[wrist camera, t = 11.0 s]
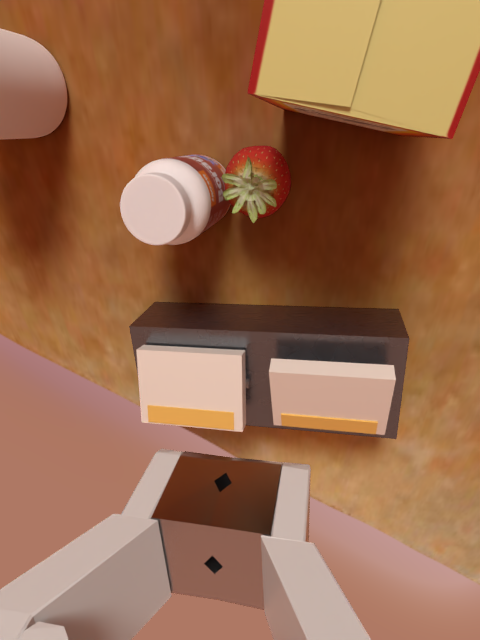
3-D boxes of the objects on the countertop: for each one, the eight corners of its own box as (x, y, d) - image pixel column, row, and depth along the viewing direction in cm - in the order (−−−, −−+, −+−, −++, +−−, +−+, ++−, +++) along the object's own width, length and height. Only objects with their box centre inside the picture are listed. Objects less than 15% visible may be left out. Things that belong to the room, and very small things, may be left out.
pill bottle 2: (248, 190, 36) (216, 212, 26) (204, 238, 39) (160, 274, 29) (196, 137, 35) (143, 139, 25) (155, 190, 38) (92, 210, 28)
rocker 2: (393, 365, 32) (395, 381, 30) (383, 420, 36) (384, 436, 35) (271, 358, 34) (268, 373, 32) (275, 411, 38) (273, 426, 37)
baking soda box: (435, 37, 29) (531, -52, 15) (401, 135, 32) (454, 138, 18) (305, 11, 30) (280, -96, 16) (283, 109, 33) (246, 92, 19)
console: (398, 309, 38) (410, 343, 32) (387, 403, 42) (397, 449, 36) (154, 302, 43) (125, 330, 37) (167, 386, 47) (142, 424, 41)
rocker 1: (245, 350, 36) (241, 355, 34) (246, 423, 37) (242, 432, 36) (143, 344, 38) (135, 350, 36) (148, 415, 39) (141, 423, 38)
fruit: (226, 189, 37) (200, 203, 29) (255, 130, 34) (234, 130, 27) (275, 218, 37) (262, 239, 30) (308, 162, 34) (301, 170, 27)
